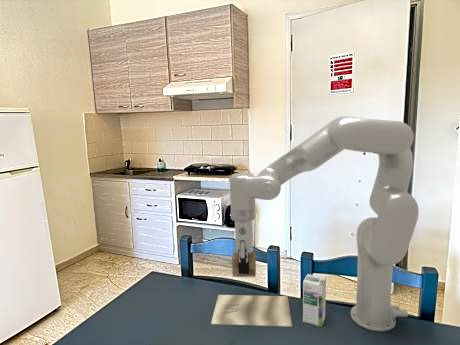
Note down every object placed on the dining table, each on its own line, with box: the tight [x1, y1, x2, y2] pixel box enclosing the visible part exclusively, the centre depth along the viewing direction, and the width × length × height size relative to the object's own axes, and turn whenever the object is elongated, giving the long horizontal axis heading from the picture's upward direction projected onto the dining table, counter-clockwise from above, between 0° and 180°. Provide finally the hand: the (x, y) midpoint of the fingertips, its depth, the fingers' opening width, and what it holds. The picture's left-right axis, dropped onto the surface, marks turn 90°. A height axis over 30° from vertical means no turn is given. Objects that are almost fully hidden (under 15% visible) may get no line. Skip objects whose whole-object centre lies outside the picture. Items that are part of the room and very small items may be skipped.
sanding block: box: [231, 251, 257, 278], centre depth 101 cm, size 7×5×6 cm
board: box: [210, 294, 293, 327], centre depth 103 cm, size 24×16×2 cm, turn 84°
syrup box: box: [302, 273, 327, 328], centre depth 96 cm, size 6×6×14 cm
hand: (244, 268), depth 101 cm, fingers closed on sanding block, 5 cm apart
